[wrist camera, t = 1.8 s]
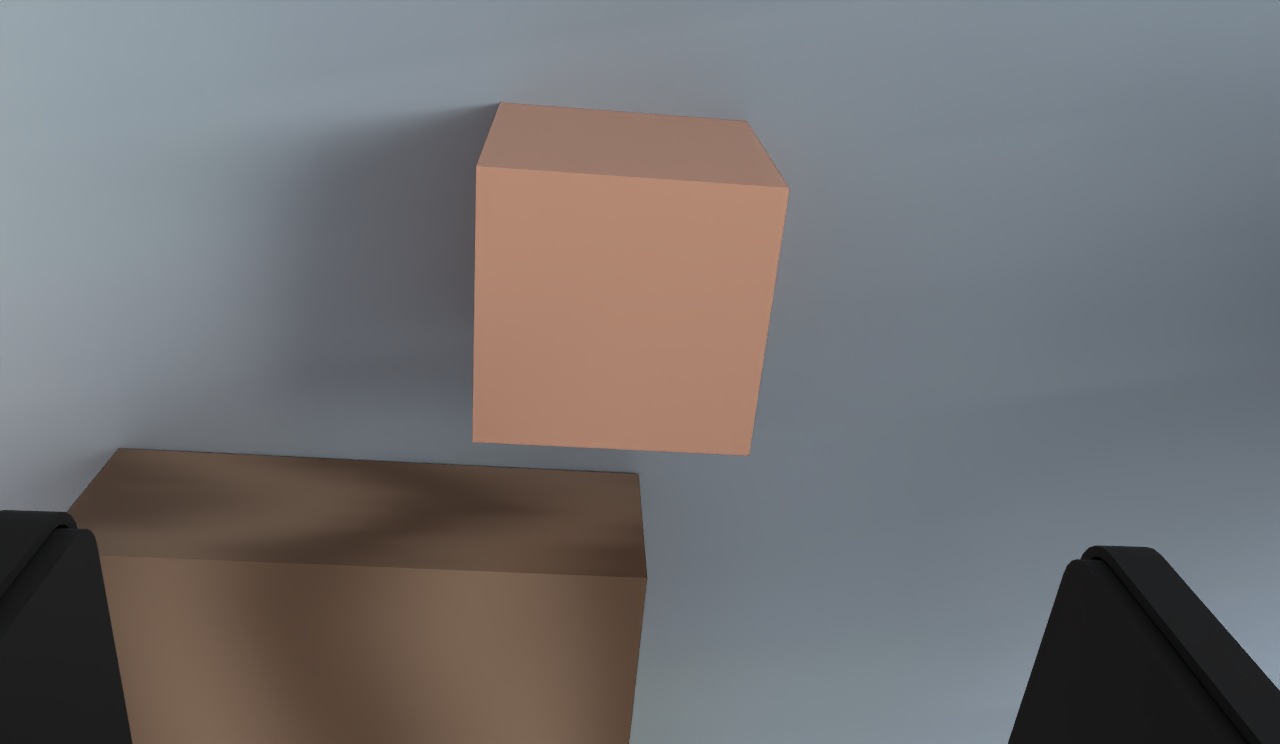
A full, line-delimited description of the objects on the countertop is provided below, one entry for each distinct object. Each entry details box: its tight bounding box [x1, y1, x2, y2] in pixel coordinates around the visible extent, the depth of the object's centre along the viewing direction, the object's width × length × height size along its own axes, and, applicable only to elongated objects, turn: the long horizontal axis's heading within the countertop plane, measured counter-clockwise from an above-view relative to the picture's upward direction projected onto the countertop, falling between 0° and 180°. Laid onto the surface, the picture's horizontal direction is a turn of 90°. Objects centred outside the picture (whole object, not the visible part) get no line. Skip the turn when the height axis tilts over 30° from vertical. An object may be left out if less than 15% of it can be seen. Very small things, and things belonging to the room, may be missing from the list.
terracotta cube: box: [472, 103, 790, 456], centre depth 20 cm, size 5×5×5 cm
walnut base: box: [66, 448, 647, 744], centre depth 25 cm, size 12×12×4 cm
